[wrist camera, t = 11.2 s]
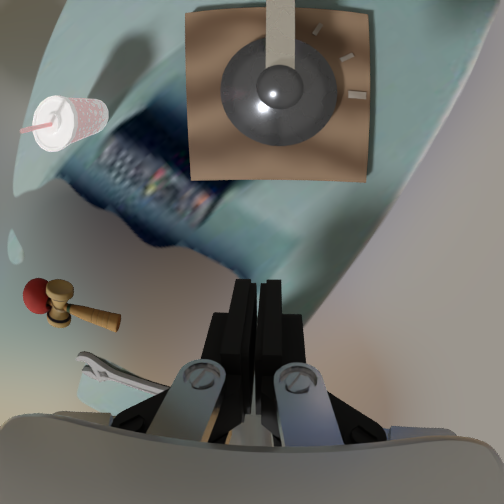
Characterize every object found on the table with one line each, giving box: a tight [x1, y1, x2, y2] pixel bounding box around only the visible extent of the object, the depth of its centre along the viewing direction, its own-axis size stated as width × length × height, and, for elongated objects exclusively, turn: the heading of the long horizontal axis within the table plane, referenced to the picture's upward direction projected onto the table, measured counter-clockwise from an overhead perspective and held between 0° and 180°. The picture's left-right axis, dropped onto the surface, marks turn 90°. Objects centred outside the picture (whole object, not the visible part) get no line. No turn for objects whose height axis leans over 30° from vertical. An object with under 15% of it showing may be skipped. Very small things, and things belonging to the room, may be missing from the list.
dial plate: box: [185, 7, 370, 183], centre depth 32 cm, size 20×20×2 cm
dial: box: [220, 0, 337, 146], centre depth 27 cm, size 16×12×7 cm
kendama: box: [23, 278, 121, 332], centre depth 45 cm, size 8×6×18 cm
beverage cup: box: [20, 95, 109, 152], centre depth 28 cm, size 6×6×14 cm
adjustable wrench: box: [76, 351, 170, 395], centre depth 55 cm, size 25×6×2 cm, turn 70°
